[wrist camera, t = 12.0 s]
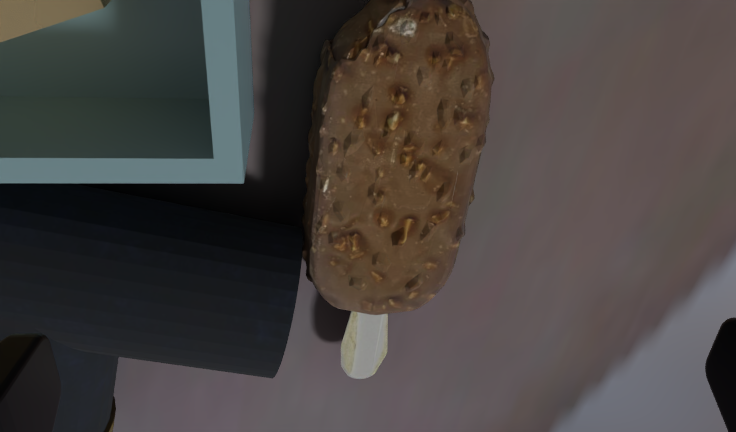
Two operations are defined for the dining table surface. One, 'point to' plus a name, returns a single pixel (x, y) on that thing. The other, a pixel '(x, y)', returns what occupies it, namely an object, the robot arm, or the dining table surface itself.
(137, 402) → the dining table surface
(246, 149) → the bin
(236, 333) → the pipe connector
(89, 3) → the gold trophy
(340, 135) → the ice cream bar
